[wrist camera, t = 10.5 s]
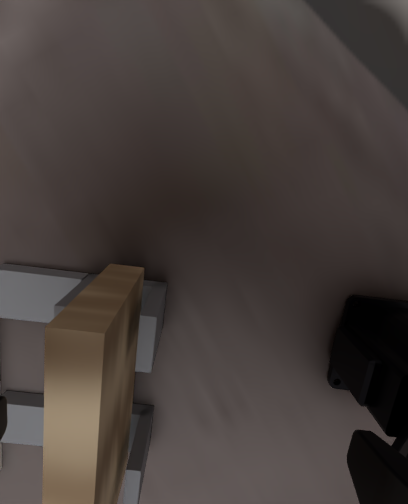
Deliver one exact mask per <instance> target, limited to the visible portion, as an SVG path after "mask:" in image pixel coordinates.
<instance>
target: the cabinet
mask: <svg viewBox="0 0 408 504" xmlns="http://www.w3.org/2000/svg"><path fill="white" fill-rule="evenodd" d="M97 276H98V274H89V273H81V272H73V271H64V270H56V269H48V268H39V267H31V266H23V265H14V264H6V263H5V264H2V265H0V318H9V319H17V320H26V321H35V322H44V323H50V322H51V321H52V320H53V319H54V318H55V317H56V316H57V315H58V314H59V313H60V312H61V311H62V310H63V309H64V308H65V307H66V306H67V305H68V304H69V303H70V302H71V301H72V300H73V299H74V298H75V297H76V296H77V295H78V294H80V293H81V292H82V291H83V290H84V289H85V288H86V287H87V286H88V285H89V284H90V283H91V282H92V281H93V280H94V279H95V278H96V277H97ZM166 292H167V283H165V282H157V281H148V280H143V291H142V302H141V314H140V321H139V332H138V343H137V354H136V365H135V371H137V372H146V373H151V372H152V368H153V364H154V360H155V356H156V351H157V347H158V343H159V339H160V335H161V331H162V327H163V319H164V310H165V301H166ZM0 395H1V383H0ZM3 395H4V396H5V397H6V398H7V416H8V423H7V428H6V431H5V434H4V436H3V437H2V439H1V441H0V470H1V469H2V442H5V443H15V444H26V445H36V446H43V433H44V394H35V393H26V392H16V391H6V392H5V393H4V394H3ZM153 411H154V406H152V405H142V404H133V403H132V414H131V425H130V436H129V448H128V452H130V456H129V460H128V464H127V468H126V476H125V487H124V498H123V504H139V498H140V493H141V488H142V482H143V477H144V472H145V466H146V461H147V456H148V450H149V445H150V438H151V429H152V420H153Z"/></svg>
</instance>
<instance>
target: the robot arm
mask: <svg viewBox="0 0 408 504" xmlns="http://www.w3.org/2000/svg"><path fill="white" fill-rule="evenodd" d="M355 301H358V304H357V305H356V306H353V303H354V302H355ZM329 362H330V363H331V365H330V369H329V373H328V377H327V380H328V382H329V384H330V386H331V387H332V388H335V389H344V390H350V392H351V393H352V395H353V396H354V398H355V399H356V400H357V402H358V403H359V404H360V405H361V406H365V407H367V409H368V410H369V411H370V413H371V414H372V416H373V417H374V418H375V420H376V421H377V422H378V424H379V425H380V427H381V428H382V429H383V431H384V432H385V434H386V435H387V436H390V437H397V438H396V439H395V441H394V443H393V444H392V446H390V445H389V444H388V443H386V442H385V441H384V440H382V439H381V438H380V437H378V436H377V435H376V434H374V433H373V432H371V431H365V430H355V431H354V432H353V435H352V439H351V442H350V446H349V449H348V453H347V464H348V468H349V471H350V474H351V477H352V481H353V484H354V487H355V490H356V493H357V497H358V500H359V503H360V504H408V301H402V300H394V299H385V298H377V297H369V296H361V295H352V296H350V297H349V298H348V299H347V301H346V305H345V309H344V313H343V317H342V321H341V325H340V326H339V327H338V328H337V332H336V336H335V340H334V344H333V348H332V352H331V356H330V360H329ZM335 379H338V380H337V381H335V382H333V381H334V380H335ZM7 423H8V416H7V398H6V397H5V396H4V395H0V441H1V439H2V437H3V436H4V434H5V431H6V428H7Z"/></svg>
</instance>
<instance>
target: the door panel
mask: <svg viewBox="0 0 408 504" xmlns="http://www.w3.org/2000/svg"><path fill="white" fill-rule="evenodd" d="M144 269H145V268H143V267H135V266H126V265H118V264H109V265H108V266H107V267H106V268H105V269H104V270H103V271H102V272H101V273H100V274H99V275H98V276H97V277H96V278H95V279H94V280H93V281H92V282H91V283H90V284H89V285H88V286H87V287H86V288H85V289H84V290H83V291H82V292H81V293H80V294H78V295H77V296H76V297H75V298H74V299H73V300H72V301H71V302H70V303H69V304H68V305H67V306H66V307H65V308H64V309H63V310H62V311H61V312H60V313H59V314H58V315H57V316H56V317H55V318H54V319H53V320H52V321H51V322H50V323H49V324H48V325H47V326H46V327H45V367H44V433H43V498H42V504H117V500H118V496H119V493H120V489H121V485H122V481H123V477H124V473H125V469H126V465H127V459H128V448H129V436H130V425H131V414H132V403H133V392H134V381H135V365H136V354H137V343H138V332H139V321H140V314H141V302H142V291H143V280H144Z"/></svg>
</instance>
